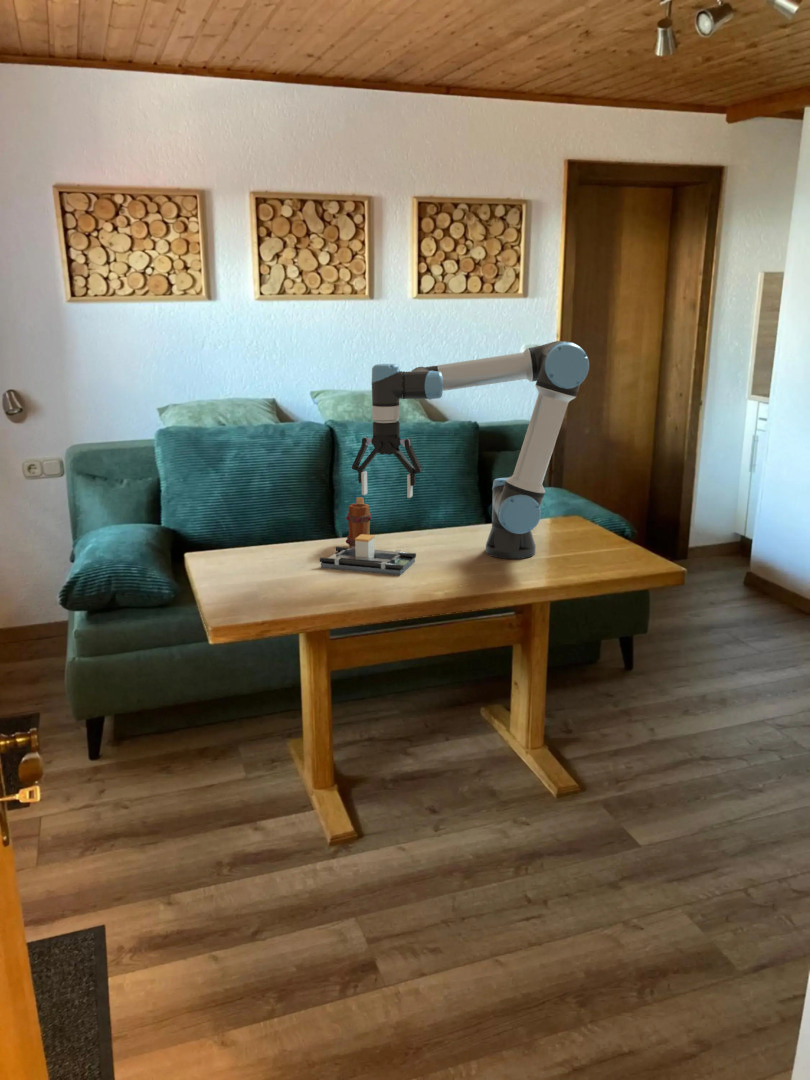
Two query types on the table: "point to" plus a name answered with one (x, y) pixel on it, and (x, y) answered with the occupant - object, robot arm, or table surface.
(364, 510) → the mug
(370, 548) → the orange grey block
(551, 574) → the table surface
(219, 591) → the table surface
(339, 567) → the panel
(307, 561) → the table surface
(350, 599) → the table surface
